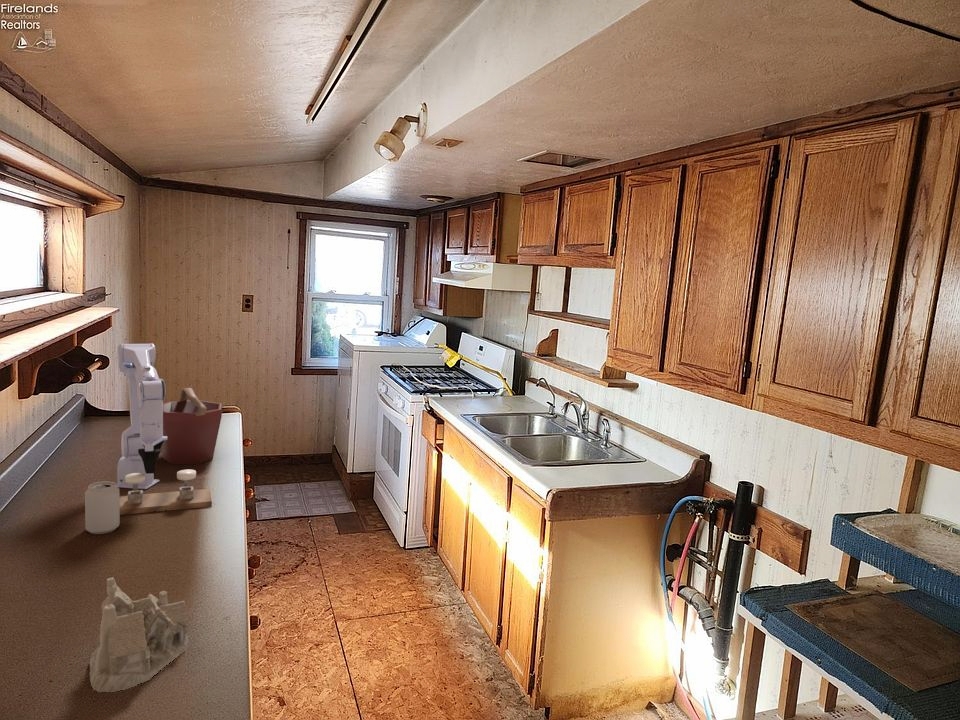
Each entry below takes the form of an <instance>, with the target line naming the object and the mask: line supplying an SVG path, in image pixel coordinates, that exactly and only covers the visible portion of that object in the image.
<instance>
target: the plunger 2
mask: <svg viewBox="0 0 960 720" xmlns="http://www.w3.org/2000/svg"><path fill="white" fill-rule="evenodd" d="M196 478H197V471H196V470H195V469H181V470H178V471H177V472H176V479H177V480H180V481H183V487H189V486H190V481H191V480H194V479H196Z"/></svg>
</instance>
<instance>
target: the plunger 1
mask: <svg viewBox="0 0 960 720" xmlns="http://www.w3.org/2000/svg"><path fill="white" fill-rule="evenodd" d="M145 481H146V475H145V474H144V473H132V474H128V475H126V476H125V483H127V484H133V488H132V491H139V489H138V484H139V483H143V482H145Z"/></svg>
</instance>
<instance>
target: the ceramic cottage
mask: <svg viewBox="0 0 960 720" xmlns="http://www.w3.org/2000/svg"><path fill="white" fill-rule="evenodd" d="M106 594H107V597H106V598H105V599H104V600H103V601H102V602H101V605H100V607H101V608H100V609H101V614H102V617H101V621H100V628H99V629H100V631H99V632H100V633H99V636H98V644H97V648H95V650H94V652H92V653H91V657H90V658H89V663H90V665H89V672H88V673H89V680H90V681H89V682H90V687H91V686H92V688H93V689H94V690H93V689H92V688H91V689H92V690H93V691H95V690H96V691H97V693H101V692H115V693H117V692H116V691H119V690H123V689H126V688H129V687H131V686H134V685H137V684H139V685H141V684H140V683H142V684H144V683H143V682H145V681H146V680H148V679H150V678H152V677H153V676H154V675H155V674H156V673H158V671H159V670H160V669H161V668H163V667H164V666H166V665H167V664H169V663H170V662H171V663H173V662H174V661H175V660H176V659H175V658H177V657H178V656H179V655H180V654H182V653H183V652H184V651H186V652H187V650H188V649H189V648H188V647H190V645H189V644H190V643H189V642H190V639H189V636H188V634H187V633H188V630H189V628H188V627H189V626H190V624H189V618H188V613H187V606H186V601H185V600H181V601H177V602H173V603H169V602H168V601H169V599H168V592H167V591H165V590H162V591H160V592H159V593H158V597H156V596H155V595H153V594H152V593H149V594H148V595H147V597H145V598H140V599H137V600H133V599H131V598H130V596H128V595H127V594H126V593H125V592H124V591H122V589H121V588H120V587H119V586H118V585H117V583H116V580H115V578H114V577H109V578H106ZM187 648H188V649H187ZM184 653H185V652H184ZM184 653H183V654H184ZM183 654H182V655H183ZM180 656H181V655H180ZM180 656H179V657H180ZM179 657H178V658H179ZM178 658H177V659H178ZM174 659H175V660H174ZM173 660H174V661H173ZM172 661H173V662H172ZM171 663H170V664H171ZM170 664H169V665H170ZM158 674H159V673H158ZM154 677H155V676H154ZM154 677H153V678H154ZM153 678H152V679H153ZM145 683H146V682H145ZM96 691H95V692H96Z"/></svg>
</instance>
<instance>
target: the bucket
mask: <svg viewBox="0 0 960 720" xmlns="http://www.w3.org/2000/svg"><path fill="white" fill-rule="evenodd" d="M222 415H223V403H221V402H214V401H208V400H202V399H201V400H200V399H199V398H198V396H197V395H196V394H195V392H194V390H193V388H192V387H182V388H181V390H180V394H179V400H178V401H167V402H165V403H164V402H163V436H167V440H164V442H163V444H162V446H161V452H160V454H161V456H162V459H163V460H165V461H166V462H168V463H170V464H173V465H174V464H177V465H178V464H179V465H180V464H181V465H182V464H183V465H185V464H186V465H187V464H188V465H195V464H198V463H199V464H200V463H203V462H207V461H211V460H213V458H214V455H215V450H216V445H217V441H218V436H219V430H220V425H221V420H222Z"/></svg>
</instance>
